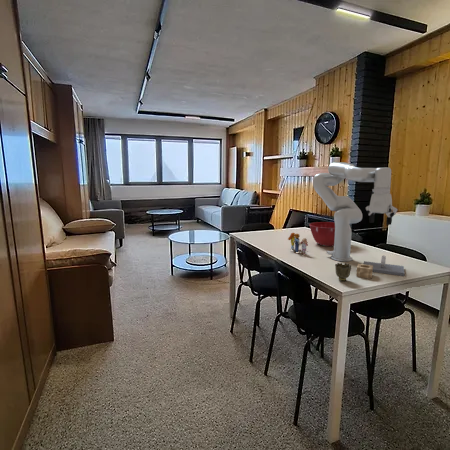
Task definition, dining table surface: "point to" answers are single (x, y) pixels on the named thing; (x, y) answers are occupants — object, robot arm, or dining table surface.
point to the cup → (342, 271)
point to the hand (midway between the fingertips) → (380, 223)
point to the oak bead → (364, 271)
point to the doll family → (295, 239)
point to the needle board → (386, 267)
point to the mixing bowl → (323, 232)
